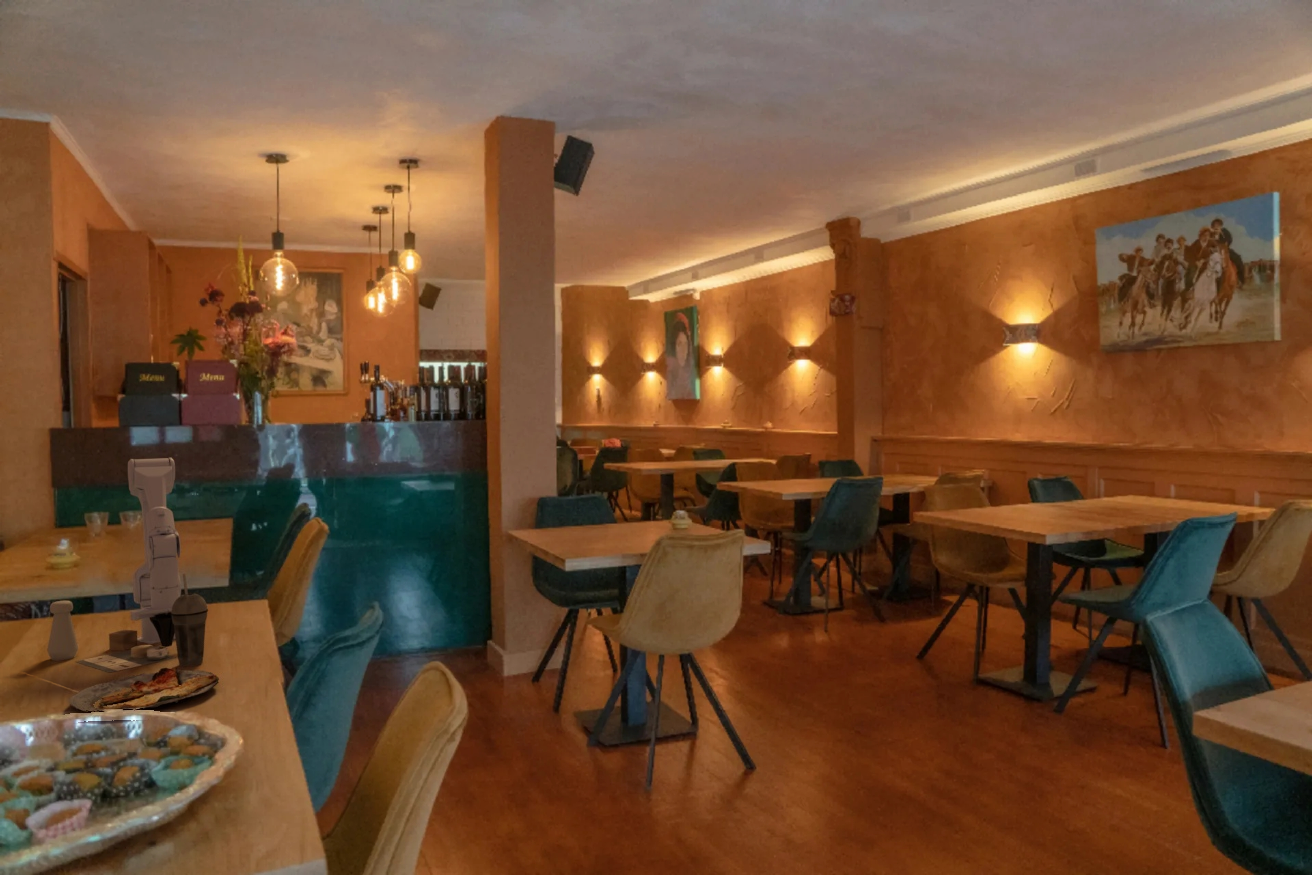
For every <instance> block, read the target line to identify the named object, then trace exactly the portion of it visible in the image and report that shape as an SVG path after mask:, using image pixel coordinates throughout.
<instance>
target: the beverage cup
mask: <svg viewBox="0 0 1312 875" xmlns="http://www.w3.org/2000/svg"><path fill="white" fill-rule="evenodd" d="M186 576H187V575H186V573H182V579H183V580H182V582H183V589H184V594H181V596H180V597H178V598H177V599H176V601H175V602H174V604H173V606H172V612H171V615H172V621H173V624H174V630H175V638H176V639H175V644H176V654H177V659H178V664H179V667H182V668H186V667H187V668H188V667H189V668H190V667H195V666H200V665H203V661H204V653H205V652H204V651H205V639H206V638H205V635H206V621H207V618H208V611H209V608H208V604H207V602H206V600H205V599H204V597H203V596H201V595H200V594H198V593H195V592H188V585H187V577H186Z"/></svg>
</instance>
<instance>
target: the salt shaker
mask: <svg viewBox="0 0 1312 875" xmlns="http://www.w3.org/2000/svg"><path fill="white" fill-rule="evenodd" d="M49 605H50V606H49V611H50V613H51V614H53V618H52V623H51V629H50V633H49V639H48V643H47V644H48V645H47V649H46V651H47V654H48V656H49V658H50V659H51V661H59V662H60V661H66V660H70V659H73V658H75V657H76V655H77V652H78V649H79V645H78V641H77V636H76V632H75V627H74V624H73V620H72V615H71V612H72V611H73V609H74V604H73V602H72V601H71V600H57V601H54V602H52V603H51V604H49Z"/></svg>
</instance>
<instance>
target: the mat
mask: <svg viewBox="0 0 1312 875" xmlns="http://www.w3.org/2000/svg"><path fill="white" fill-rule="evenodd" d="M173 659H178V656H177V657H176V656H173V655H168V654H167V659H165V660H161V661H147V658H140V659H134V658H131V649H128V650H123V651H120V652H114V653H111V654H103V655H100V656H94V657H90V658H85V659H81V660H78V661H75V663H77V664H80V665H84V666H87V667H90V668H93V669H97V670H99V671H103V672H105V673H109V674H110V673H116V672H121V671H123V670H127V669H128V670H129V669H132V668H137V667H141V666H146V665H151V664H155V663H160V662H163V661H167V660H173Z"/></svg>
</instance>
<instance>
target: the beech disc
mask: <svg viewBox="0 0 1312 875" xmlns="http://www.w3.org/2000/svg"><path fill="white" fill-rule="evenodd" d="M151 648H154V645H153V644H141V645H138V646H135V647H132V648H130V650H131V658H134V659H140V658H147V650H148V649H151Z"/></svg>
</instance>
